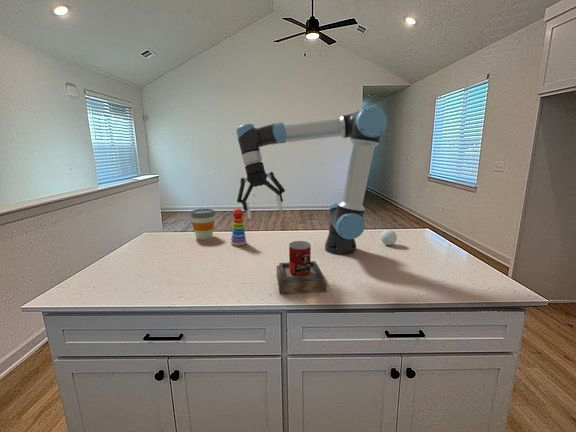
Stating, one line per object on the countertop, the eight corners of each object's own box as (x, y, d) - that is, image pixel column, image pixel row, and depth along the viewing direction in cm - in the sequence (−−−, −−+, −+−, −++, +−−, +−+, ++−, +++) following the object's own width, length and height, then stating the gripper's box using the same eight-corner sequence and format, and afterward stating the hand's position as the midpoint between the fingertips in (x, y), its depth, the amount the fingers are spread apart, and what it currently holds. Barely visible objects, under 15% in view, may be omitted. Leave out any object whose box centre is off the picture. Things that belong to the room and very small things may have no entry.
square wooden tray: (316, 273, 121) (317, 260, 119) (325, 291, 105) (326, 276, 104) (276, 275, 119) (276, 262, 118) (279, 294, 104) (279, 279, 102)
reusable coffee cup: (189, 236, 172) (187, 210, 169) (210, 232, 179) (208, 207, 176) (197, 241, 162) (195, 214, 159) (219, 237, 170) (217, 211, 166)
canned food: (296, 278, 106) (296, 248, 104) (285, 270, 113) (285, 242, 111) (314, 274, 110) (315, 245, 107) (303, 267, 117) (303, 239, 114)
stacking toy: (243, 246, 154) (242, 210, 150) (228, 245, 155) (226, 210, 151) (248, 242, 161) (247, 207, 157) (234, 241, 163) (232, 207, 159)
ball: (379, 246, 153) (380, 230, 151) (380, 241, 160) (381, 227, 158) (396, 248, 150) (397, 232, 148) (397, 243, 157) (398, 228, 155)
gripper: (278, 159, 131) (290, 207, 133) (222, 170, 123) (234, 221, 124) (284, 156, 124) (296, 206, 126) (224, 167, 116) (238, 221, 117)
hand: (266, 214), depth 125 cm, fingers open, 13 cm apart
